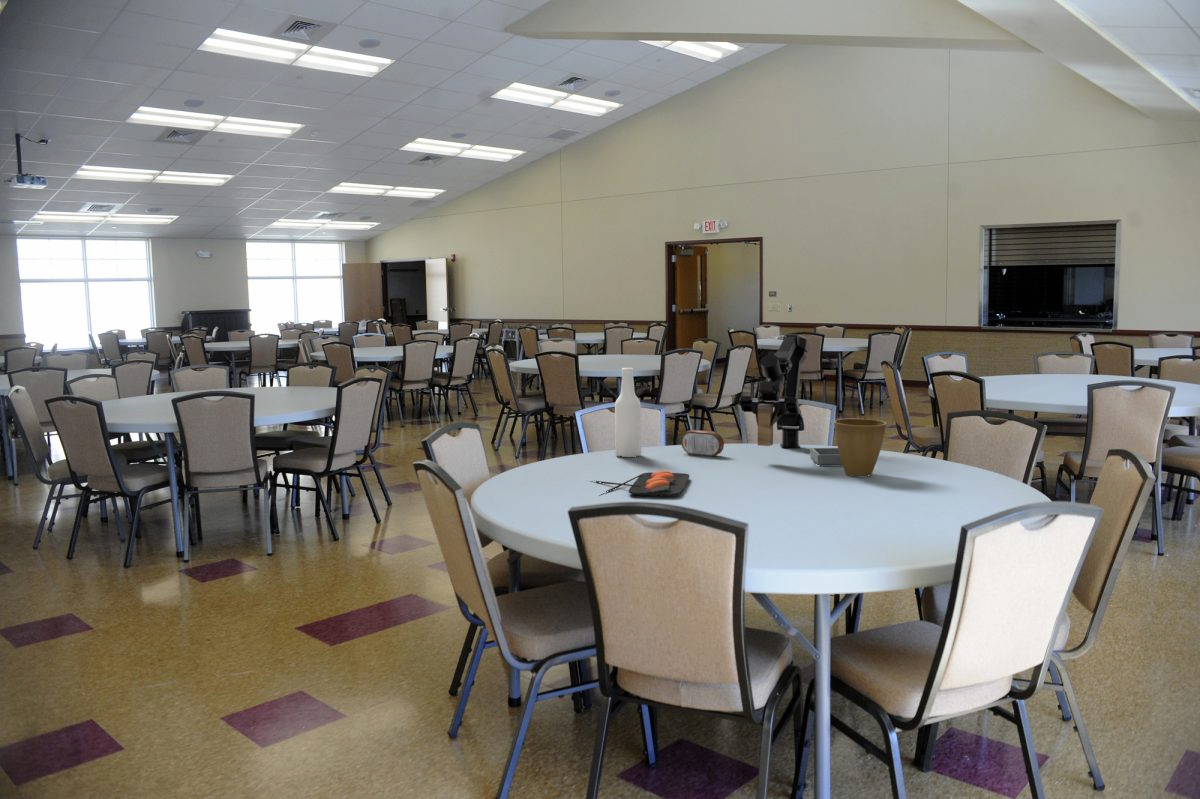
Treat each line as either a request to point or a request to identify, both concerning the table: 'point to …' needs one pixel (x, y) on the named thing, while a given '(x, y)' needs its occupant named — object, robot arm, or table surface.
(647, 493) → the sushi plate
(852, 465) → the plant pot
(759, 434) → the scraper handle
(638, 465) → the table surface
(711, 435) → the tin
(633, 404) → the alcohol
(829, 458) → the box
